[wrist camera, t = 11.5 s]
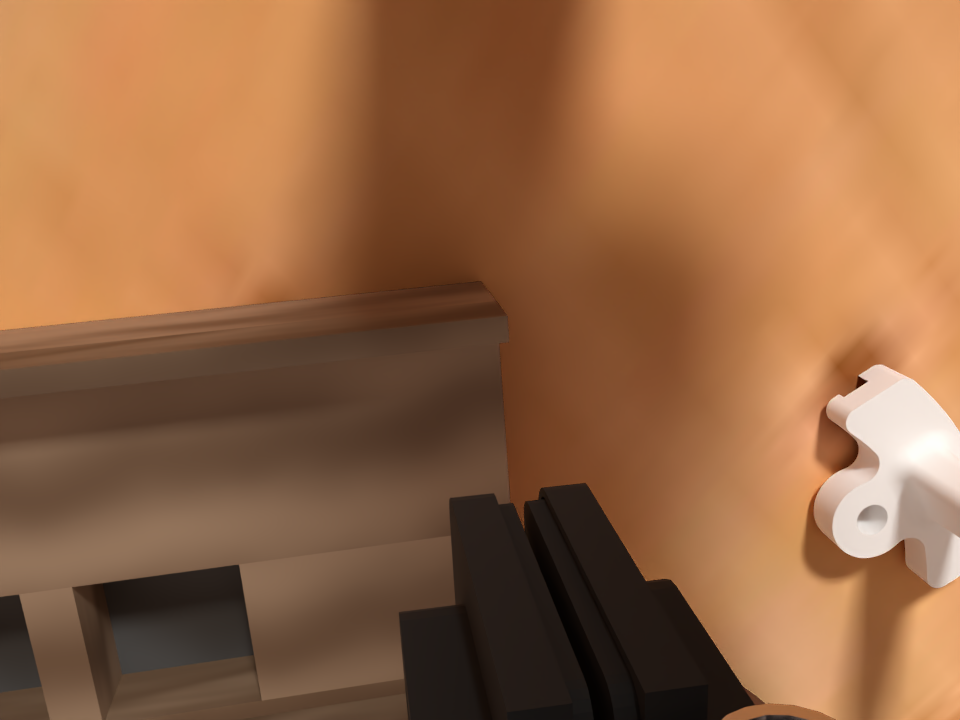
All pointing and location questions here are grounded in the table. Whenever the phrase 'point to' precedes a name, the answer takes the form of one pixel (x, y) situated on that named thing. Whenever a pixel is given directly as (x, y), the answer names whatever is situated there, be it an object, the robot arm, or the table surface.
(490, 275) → the table surface
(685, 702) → the robot arm
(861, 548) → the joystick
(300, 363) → the box
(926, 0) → the table surface
